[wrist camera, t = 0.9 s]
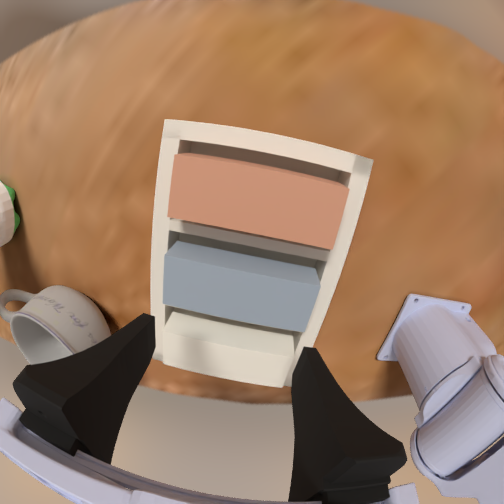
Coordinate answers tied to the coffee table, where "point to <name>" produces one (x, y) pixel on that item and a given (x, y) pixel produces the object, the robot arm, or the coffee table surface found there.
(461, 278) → the coffee table surface
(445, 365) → the robot arm
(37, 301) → the teacup
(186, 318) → the ivory key
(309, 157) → the cream drawer frame
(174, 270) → the slate key
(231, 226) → the terracotta key
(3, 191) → the cup
